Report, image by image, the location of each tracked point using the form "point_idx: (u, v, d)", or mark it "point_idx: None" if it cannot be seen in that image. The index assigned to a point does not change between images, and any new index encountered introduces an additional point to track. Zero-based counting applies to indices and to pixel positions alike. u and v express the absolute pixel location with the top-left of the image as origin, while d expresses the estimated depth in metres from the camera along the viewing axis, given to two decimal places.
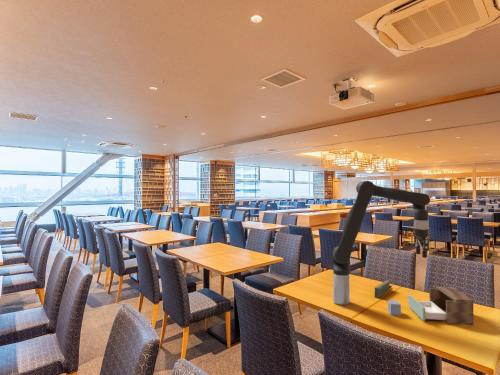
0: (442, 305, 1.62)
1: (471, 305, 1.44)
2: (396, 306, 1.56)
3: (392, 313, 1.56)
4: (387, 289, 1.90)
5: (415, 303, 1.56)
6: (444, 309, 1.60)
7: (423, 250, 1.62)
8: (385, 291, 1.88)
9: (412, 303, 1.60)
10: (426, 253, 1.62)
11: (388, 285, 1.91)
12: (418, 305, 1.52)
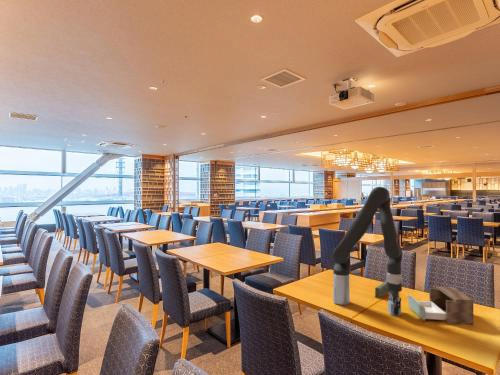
0: (442, 305, 1.62)
1: (471, 305, 1.44)
2: None
3: (392, 313, 1.56)
4: (387, 289, 1.90)
5: (415, 303, 1.56)
6: (444, 309, 1.60)
7: (394, 307, 1.54)
8: (385, 291, 1.88)
9: (412, 303, 1.60)
10: (397, 310, 1.54)
11: None
12: (418, 305, 1.52)
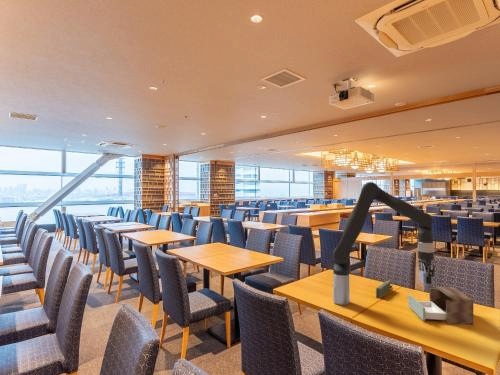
0: (442, 305, 1.62)
1: (471, 305, 1.44)
2: None
3: (425, 282, 1.53)
4: (388, 289, 1.90)
5: (415, 303, 1.56)
6: (444, 309, 1.60)
7: (427, 276, 1.52)
8: (386, 291, 1.88)
9: (412, 303, 1.60)
10: (430, 279, 1.52)
11: (389, 285, 1.91)
12: (418, 305, 1.52)
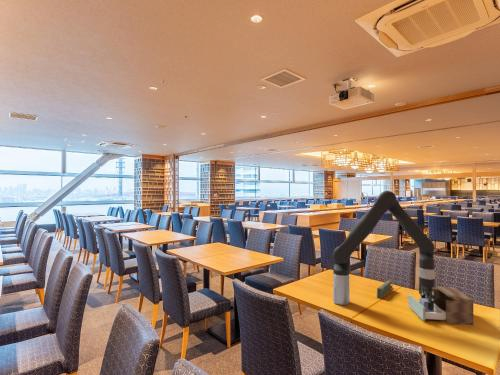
0: (442, 305, 1.62)
1: (471, 305, 1.44)
2: None
3: (425, 311, 1.53)
4: (388, 289, 1.90)
5: (415, 303, 1.56)
6: (444, 309, 1.60)
7: (429, 302, 1.51)
8: (387, 291, 1.87)
9: (412, 303, 1.60)
10: (432, 305, 1.50)
11: (389, 285, 1.91)
12: (418, 305, 1.52)
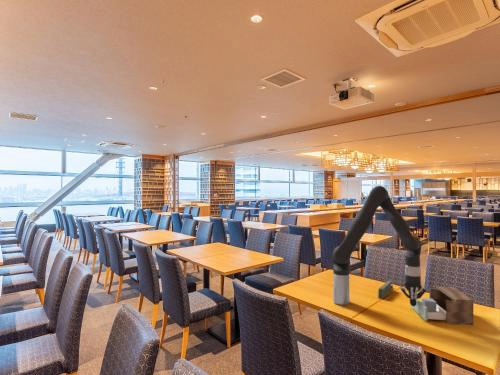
0: (442, 305, 1.62)
1: (471, 305, 1.44)
2: (432, 304, 1.53)
3: None
4: (389, 289, 1.90)
5: (417, 303, 1.56)
6: (444, 309, 1.60)
7: None
8: (388, 292, 1.87)
9: None
10: (410, 301, 1.56)
11: (390, 285, 1.91)
12: (420, 305, 1.52)
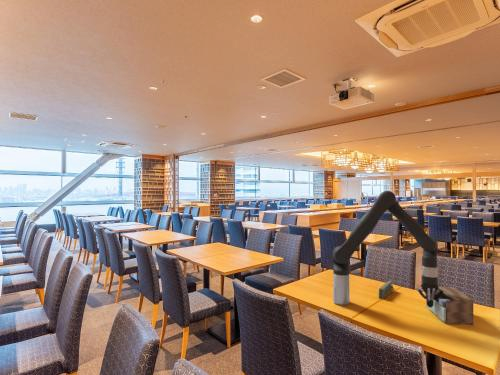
0: None
1: (471, 305, 1.44)
2: None
3: None
4: (389, 290, 1.89)
5: (434, 304, 1.55)
6: None
7: None
8: (388, 292, 1.87)
9: None
10: (427, 302, 1.55)
11: (390, 285, 1.91)
12: (438, 306, 1.51)
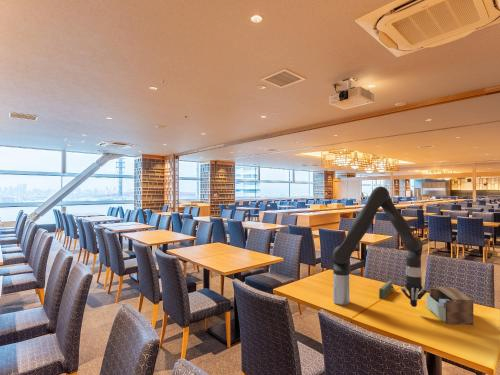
0: None
1: (471, 305, 1.44)
2: None
3: None
4: (390, 289, 1.89)
5: (434, 304, 1.55)
6: None
7: None
8: (388, 292, 1.87)
9: (431, 304, 1.59)
10: (411, 301, 1.56)
11: (391, 285, 1.91)
12: (438, 306, 1.51)
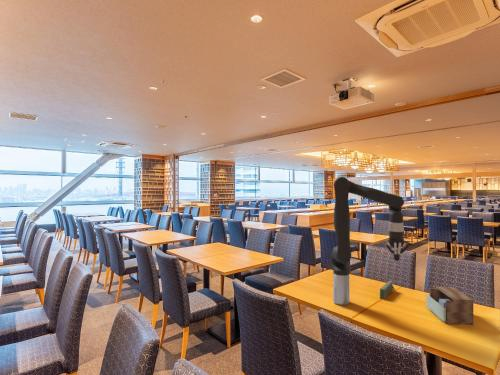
0: None
1: (471, 305, 1.44)
2: None
3: None
4: (390, 290, 1.89)
5: (434, 304, 1.55)
6: None
7: (393, 252, 1.67)
8: (389, 292, 1.87)
9: (431, 304, 1.59)
10: (394, 256, 1.65)
11: (391, 286, 1.90)
12: (438, 306, 1.51)
